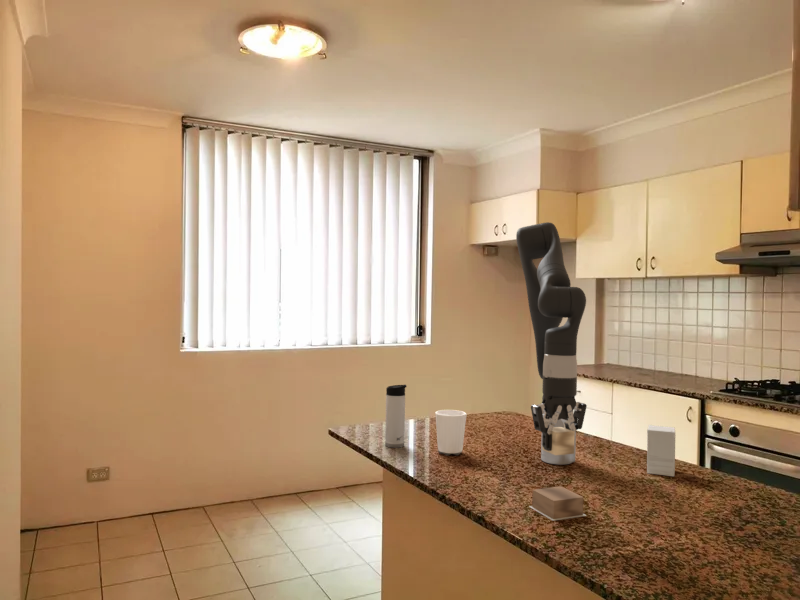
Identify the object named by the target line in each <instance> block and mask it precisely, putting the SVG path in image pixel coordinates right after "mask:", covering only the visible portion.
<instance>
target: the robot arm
mask: <svg viewBox="0 0 800 600" xmlns="http://www.w3.org/2000/svg"><path fill="white" fill-rule="evenodd" d="M515 235H516V237H515V238H516V245H517V249H518V254H519V259H520V263H521V266H522V267H521V268H522V272H523V275H524V280H525V287H526V293H527V303H528V309H529V314H530V319H531V323H532V324H531V325H532V329H533V330H532V331H533V334H534V340H535V341H534V343H535V351H536V352H535V353H536V363H537V370H538V375H539V377H540V379H541V380H542V389H541V391H542V397H541V398H542V400H541V403H539V404H531V405H530V410H531V415H532V421H533V427H534V430H536V431H539V432H541V442H540V444H541V446H540V447H541V448H540V449H541V450H540V451H541V452H540V460H541V461H542V462H544V463H547V464H550V465H551V464H552V465H570V464H572V463H575V462H576V447H577V445H576V444H577V443H576V442H577V441H576V438H577V435H576V434H577V432H576V431H577V430H581V429H582V428H583V425H584V420H585V416H586V412H587V406H588V405H587V404H586V403H585V402H580V401H576V398H575V397H576V396H577V394H578V393H577V391H578V390H577V389H578V387H577V386H578V385H577V384H578V383H577V382H578V360H577V351H578V350H577V343H578V333H579V329H580V324H581V321H582V318H583V315H584V313H585V309H586V305H587V297H586V294H585V292H584V290H582V288H580V287H577V286H571V285H572V284H571V278H570V277H569V274H568V272H567V270H566V267H565V262H564V254H563V249H562V245H561V244H562V243H561V239H560V235H559V231H558V229H557V227H556V225H555V224H554V223H553V222H540V223H537V224H532V225H527V226H523V227H520V228H518V229H517V231H516V234H515ZM537 259H541V260H540V262H539V264H538V266H537V267H536V265H535V263H534V262H533V261H534V260H537ZM564 318H567V319H566V322H565V323H564V324H563V325H561V324H562V321H563V319H564ZM560 325H561V326H560ZM553 427H563V428H566V429H569V430H572V431H575V436H574V454H565V455H553V454H551V453H549V452H546V451H544V450H542V446H543V447H544V449H545V450H547V451H551V450H552V434H551V433H552V430H553Z"/></svg>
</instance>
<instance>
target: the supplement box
mask: <svg viewBox="0 0 800 600" xmlns="http://www.w3.org/2000/svg"><path fill="white" fill-rule="evenodd" d="M646 431H647V433H646V435H647V437H646V439H647V441H646V442H647V446H646V448H647V451H646V453H647V454H646V465H647V466H646V473H647V474H651V475H658V476H659V475H660V476H666V477H667V476H668V477H675V471H676V469H675V468H676V428H675V427H674V426H663V425H652V424H648V427H647V430H646Z"/></svg>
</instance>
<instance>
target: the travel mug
mask: <svg viewBox="0 0 800 600" xmlns="http://www.w3.org/2000/svg"><path fill="white" fill-rule="evenodd" d="M406 388H407V384H396V385H394V384H393V385H389V386H387V387H386V394H385V430H384V431H385V432H384V433H385V436H384V437H385V438H384V444H385V446H386V447H387V448H392V449H394V448H395V449H397V448H402V447H404V446H405V434H406V433H405V429H406V428H405V425H406V424H405V422H406Z"/></svg>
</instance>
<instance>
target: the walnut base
mask: <svg viewBox="0 0 800 600" xmlns="http://www.w3.org/2000/svg"><path fill="white" fill-rule="evenodd" d="M531 496H532V499H531V500H532V503H531V504H532V505H531V506H532V507H533V508H535V509H537V510H538V511H540V512H542V513H544V514H545V515H547V516H549V517H550V518H552V519H558V518H565V517H572V516H579V515H583V514H584V496H582V495H580V494H578V493H577V492H575V491H572V490H570V489H568V488H565V487H564V486H562V485H560V486H559V485H558V486H551V487H544V488H536V489H532V495H531Z"/></svg>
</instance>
